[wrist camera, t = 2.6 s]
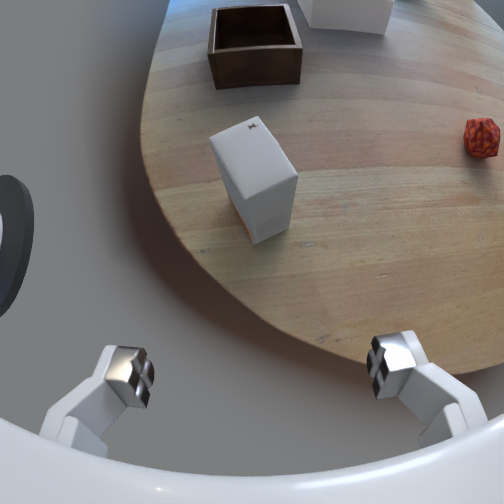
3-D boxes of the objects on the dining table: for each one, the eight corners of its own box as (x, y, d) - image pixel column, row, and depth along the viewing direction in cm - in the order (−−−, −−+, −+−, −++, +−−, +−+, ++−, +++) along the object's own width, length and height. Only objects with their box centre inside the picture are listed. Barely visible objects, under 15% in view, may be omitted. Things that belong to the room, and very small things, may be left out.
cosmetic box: (228, 200, 31) (206, 135, 20) (263, 183, 32) (258, 112, 20) (254, 248, 30) (243, 201, 18) (290, 229, 30) (301, 173, 19)
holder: (215, 89, 36) (207, 54, 29) (218, 39, 39) (212, 8, 32) (299, 84, 35) (302, 48, 28) (287, 34, 38) (287, 3, 32)
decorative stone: (449, 144, 34) (477, 119, 32) (478, 177, 32) (505, 149, 29) (454, 124, 29) (483, 97, 26) (488, 160, 26) (516, 130, 24)
